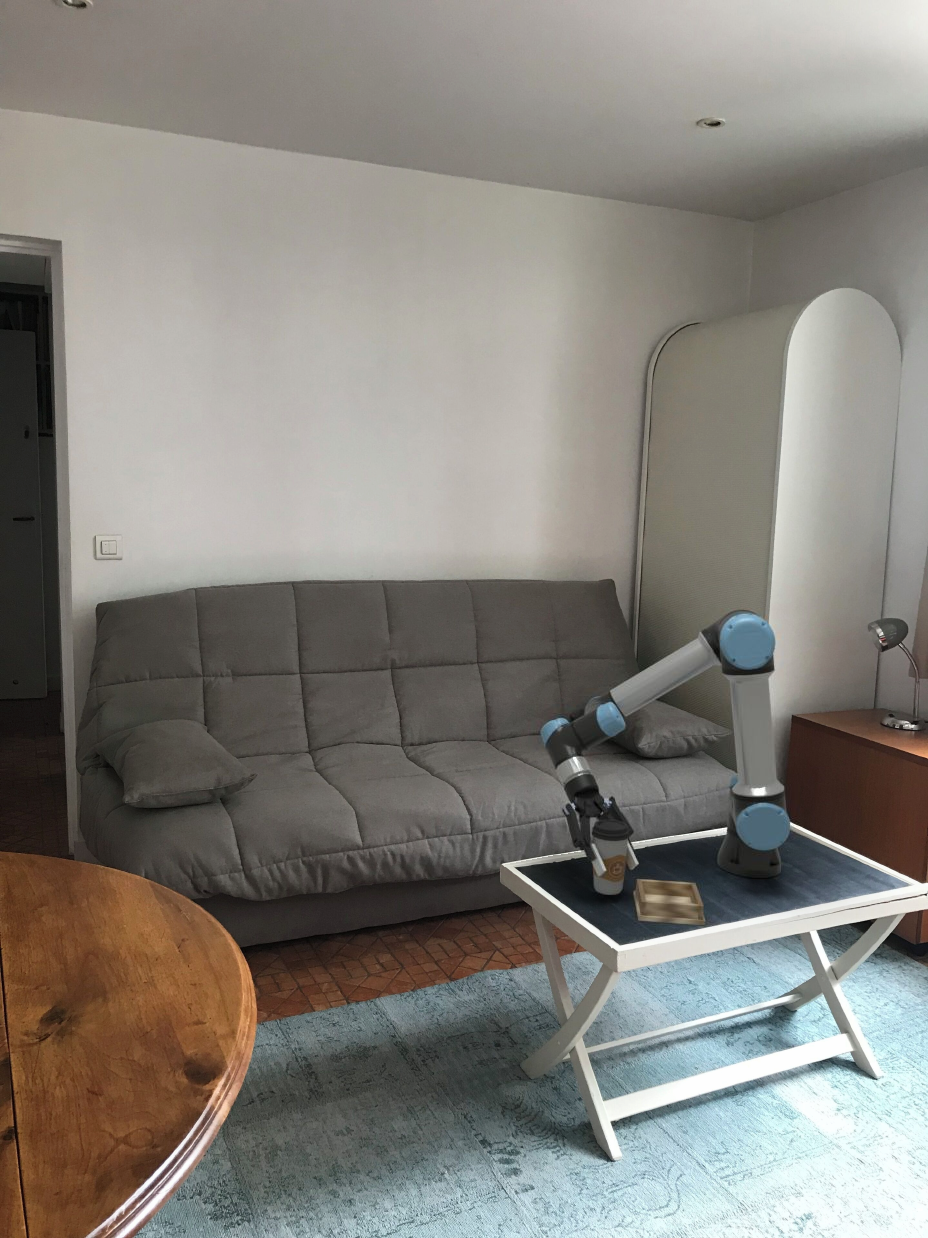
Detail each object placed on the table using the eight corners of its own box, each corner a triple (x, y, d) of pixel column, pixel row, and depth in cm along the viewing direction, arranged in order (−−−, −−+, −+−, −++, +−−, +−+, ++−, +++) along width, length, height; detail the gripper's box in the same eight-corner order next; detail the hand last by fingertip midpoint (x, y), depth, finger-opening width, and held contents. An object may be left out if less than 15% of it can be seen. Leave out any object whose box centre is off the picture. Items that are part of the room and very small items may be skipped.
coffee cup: (601, 899, 217) (604, 832, 216) (582, 885, 225) (585, 821, 223) (634, 894, 221) (637, 828, 219) (614, 880, 228) (616, 817, 226)
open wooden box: (695, 899, 224) (697, 882, 224) (705, 925, 210) (706, 907, 210) (633, 895, 225) (634, 878, 225) (638, 920, 212) (639, 902, 211)
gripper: (606, 783, 239) (647, 869, 227) (533, 794, 229) (572, 885, 217) (621, 767, 234) (663, 854, 222) (547, 778, 223) (587, 870, 211)
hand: (618, 870), depth 219 cm, fingers closed on coffee cup, 8 cm apart
